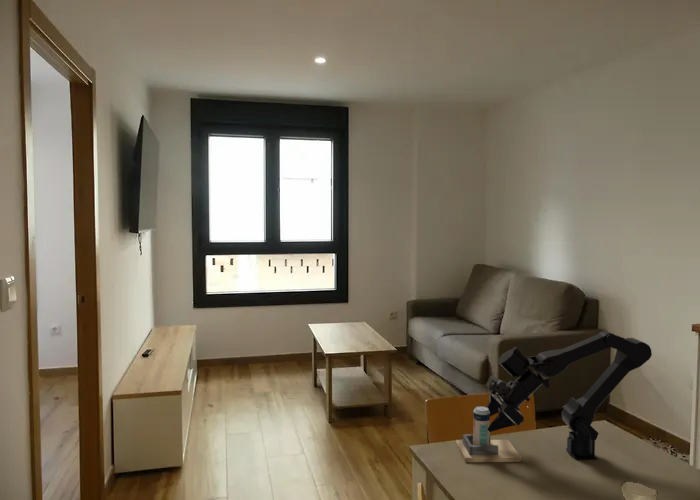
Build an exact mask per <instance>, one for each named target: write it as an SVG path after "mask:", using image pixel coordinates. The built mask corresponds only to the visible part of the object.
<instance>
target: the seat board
mask: <svg viewBox="0 0 700 500" xmlns="http://www.w3.org/2000/svg"><path fill="white" fill-rule="evenodd" d="M455 445H456V448H457V449H458V452H459V453H460V455H461V458H462V459H463V461H464V462H465V463H521V462H522V456H521V455H520V453H519V452H518V450H516V448H515V447H514V446H513V445H512V443H511V442H510V441H509V439H490V444H489V445H473V433H471V434H470V433H468V434H465V433H464V434H462V439H456V440H455Z"/></svg>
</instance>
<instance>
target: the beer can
mask: <svg viewBox="0 0 700 500" xmlns="http://www.w3.org/2000/svg"><path fill="white" fill-rule="evenodd" d="M472 413H473V418H472V420H473V422H472V425H473V426H472V428H473V429H472V434H473V445H489V444H490V440H491V432H489V431H488V430H487V429H488V427H489V426H490V424H491V423H490V422H491V416H490V411H489V408H487V406H483V405H477V406H475V407H474V409H473V412H472Z"/></svg>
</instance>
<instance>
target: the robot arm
mask: <svg viewBox="0 0 700 500" xmlns="http://www.w3.org/2000/svg"><path fill="white" fill-rule="evenodd" d="M610 348H611V349H615V350H616V352H615V356H614V359H613V361H612V362H611V363H610V365H609V366H608V367H607V368H606V369H605V371H604V372H603V373H602V374H601V375H600V376H599V377H598V378H597V380H596V381H595V382H594V383H593V384H592V385H591V387H590V388H588V389H587V391H586V392H585V393H584V394H583V396H581V397H580V398H577V399H575V398H574V397H573V396H571V397H570V398H569V400H568V401H567V403H566V404H564V405H562V408H563V409H562V410H561V419H562V421H563V422H564V423H565V424H566V425H567V427H568V429H570V430H571V431H568V437H567V440H566V442H567V443H566V448H565V450H566V452H568V454H570V455H571V456H572V458H574V460H598V456H597V455H596V454H595V452H596V440H597V438H598V436H599V432H598V431H597V430H596V429H595V428H594V427H593V426H592V423H593V422H594V419H595V417H596V413H597V409H599V407H600V406H601V405H602V403H604V402H605V400H606V399H607V397H609V396H610V394H611V393H612V392H613V391H614V390H615V389H616V387H617V386H618V385H619V384H620V383H621V382H622V381H623V379H624V378H625V377H626V376H627V375H628V374H629V373H630V372H632V371H633V370H636V369H638V368H640V367H642V366H643V365H644V364H646V362H649V360H650V359H651V357H652V354H653V353H652V348H651V347H650V345H649V344H648V343H646V342H645V341H641V340H639V339H637V338H635V337H626V338H624V337H622V336H619V335H617V334H614V333H612V332H610V331H608V330H603V331H600V332H599V333H597V334H595V335H593V336H590V337H588V338H586V339H583V340H581V341H577V342H575V343H574V344H570V345H568V346H566V347H564V348H560V349H551V350H545V351H541V352H540V353H538V354H537V355H533V356H527V357H525V355H523V354H522V352H521V351H520V350H519V348H517V347H516V346H513V347H512V348H511V349H509V350H506V352H503V353H502V354H501V355H500V356H499V358H498V361H497V363H498V364H499V365H500V366H501V367H502V368H503V369H504V370H505V371H506V372H507V373H508V374H509V375H510V376H511V377H514V378H515V377H517V378H516V379H515V380H514V381H513V380H509V381H508V382H506V381H503V380H502V379H499V378H497V377H495V376H492V375H489V377H488V380H487V382H486V384H485V386H486V387H487V390H488V391H489V392H488V398H489V401H488V403H487V404H486V407H487V408H489V411H490V417H492V416H494V415H496V414H497V415H496V417H495V418H494V419H493V420H492V422H491V423H490V426H489V427H488V429H487V430H488V431H489V432H490V433H491V432H492V433H493V432H496V431H499V430H501V429H505V428H509V427H513V426H514V427H516V426H518V427H520V426H521V425H522V424H523V423H524V421H525V419H524V415H523V414H522V413H521V412H520V411H521V408H520V406H521V405H522V404H524V403H525V402H526V401H527V402H530V401H531V398H530V396H532V395H533V394H534V393H535V392H536V391H537V389H539V388H540V387H541V386H544V387H545V388H546V389H548V390H549V389H550V378H551V377H552V378H553V377H555V376H558V375H559V374H561V373H562V372H564V371H565V370H566V369H567V368H568V367H569V366H570V365H572V364H574V363H576V362H578V361H580V360H584V359H585V358H588V357H590V356H592V355H595V354H597V353H599V352H602V351H604V350H607V349H610ZM529 367H531V368H532V369H533V370H531V369H530V368H529ZM541 373H542V374H543V375H545V376H543V375H542V374H541ZM549 377H550V378H549Z"/></svg>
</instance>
